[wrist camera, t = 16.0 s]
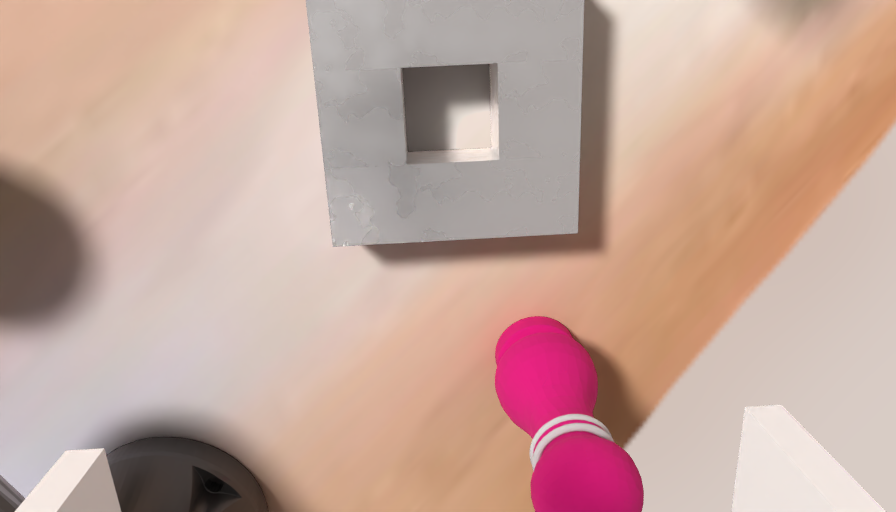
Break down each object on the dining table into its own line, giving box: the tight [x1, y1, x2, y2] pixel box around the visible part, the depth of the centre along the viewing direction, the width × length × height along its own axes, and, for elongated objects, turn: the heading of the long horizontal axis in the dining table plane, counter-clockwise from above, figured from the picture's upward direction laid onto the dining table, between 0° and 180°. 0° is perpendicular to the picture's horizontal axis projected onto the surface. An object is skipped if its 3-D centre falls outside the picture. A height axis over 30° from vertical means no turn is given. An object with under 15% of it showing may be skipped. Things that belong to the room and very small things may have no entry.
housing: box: [306, 0, 584, 247], centre depth 41 cm, size 16×16×4 cm
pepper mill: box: [495, 316, 644, 512], centre depth 40 cm, size 7×7×20 cm
